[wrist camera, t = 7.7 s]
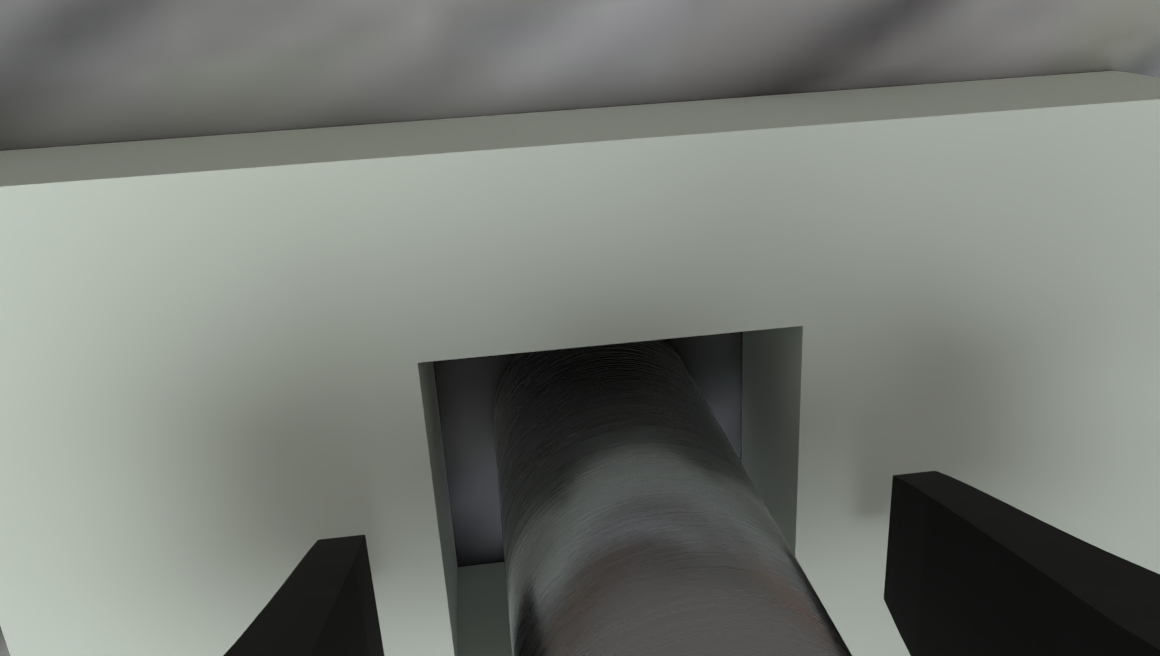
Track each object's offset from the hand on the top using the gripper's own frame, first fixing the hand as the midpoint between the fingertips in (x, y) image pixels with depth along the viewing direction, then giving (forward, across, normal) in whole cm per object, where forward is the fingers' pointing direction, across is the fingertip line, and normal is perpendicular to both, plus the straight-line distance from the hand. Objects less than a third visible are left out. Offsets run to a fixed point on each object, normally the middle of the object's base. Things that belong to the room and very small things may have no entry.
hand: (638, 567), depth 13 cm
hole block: (+4, 0, 0) cm, 4 cm away
